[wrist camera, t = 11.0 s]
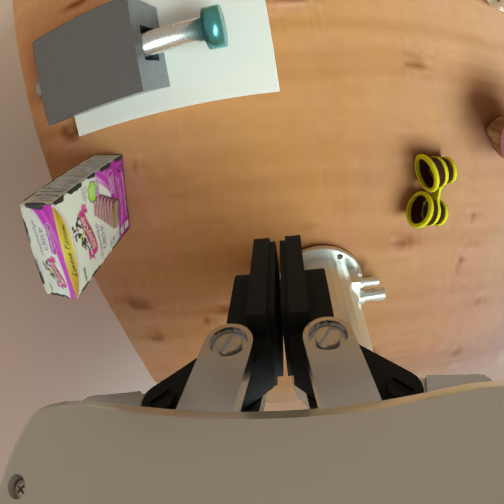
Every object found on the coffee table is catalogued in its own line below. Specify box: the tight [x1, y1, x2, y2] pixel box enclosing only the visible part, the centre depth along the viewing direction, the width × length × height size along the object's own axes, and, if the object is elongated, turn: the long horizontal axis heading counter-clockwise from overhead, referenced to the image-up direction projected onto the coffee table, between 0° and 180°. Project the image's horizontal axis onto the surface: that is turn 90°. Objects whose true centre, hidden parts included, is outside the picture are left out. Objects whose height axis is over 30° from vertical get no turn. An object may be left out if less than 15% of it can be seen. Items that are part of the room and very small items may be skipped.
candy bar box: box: [20, 155, 130, 299], centre depth 33 cm, size 11×5×16 cm, turn 177°
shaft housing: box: [33, 0, 170, 126], centre depth 26 cm, size 12×10×8 cm
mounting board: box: [74, 0, 280, 136], centre depth 29 cm, size 26×16×1 cm, turn 99°
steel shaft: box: [35, 4, 228, 98], centre depth 25 cm, size 23×5×5 cm, turn 99°
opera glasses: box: [406, 154, 457, 228], centre depth 34 cm, size 10×5×5 cm, turn 1°
